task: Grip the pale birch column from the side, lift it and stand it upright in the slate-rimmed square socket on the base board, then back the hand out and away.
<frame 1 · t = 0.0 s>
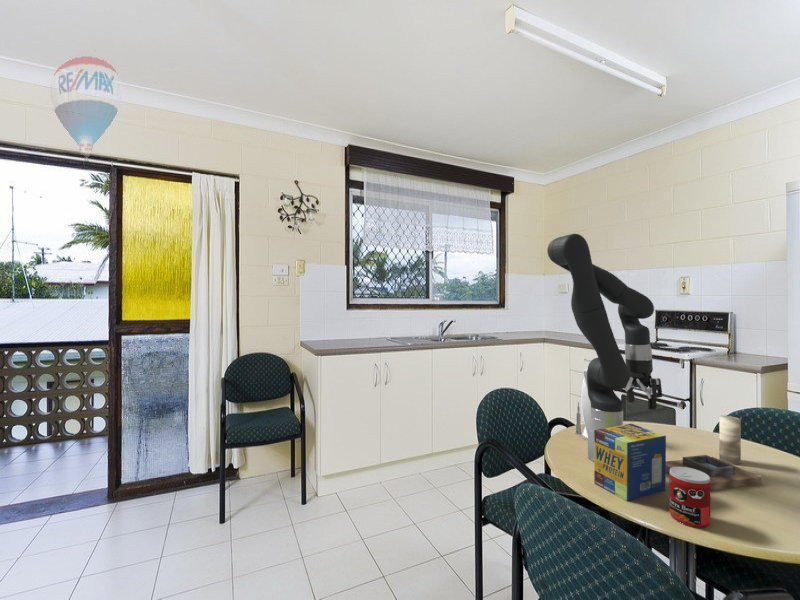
hand: (641, 405, 125), 17 cm above the table, tool pointing down, fingers open, 8 cm apart
skyscraper: (591, 437, 144), on the table
base board: (708, 475, 112), on the table
protein box: (629, 488, 106), on the table
birch column: (729, 461, 122), on the table
canned food: (689, 519, 90), on the table
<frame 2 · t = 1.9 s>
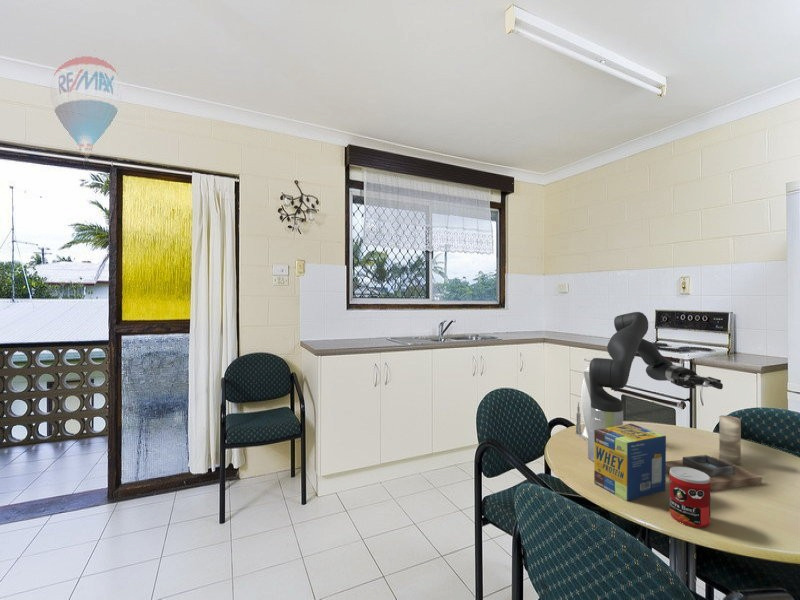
hand: (707, 386, 133), 22 cm above the table, tool horizontal, fingers open, 8 cm apart
nothing on the table moved.
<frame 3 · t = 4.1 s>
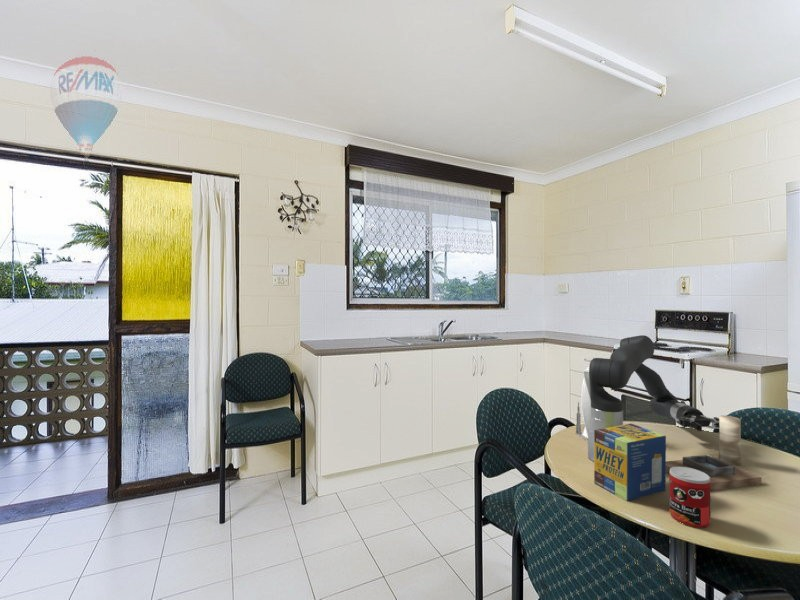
hand: (714, 429, 129), 8 cm above the table, tool horizontal, fingers open, 8 cm apart
nothing on the table moved.
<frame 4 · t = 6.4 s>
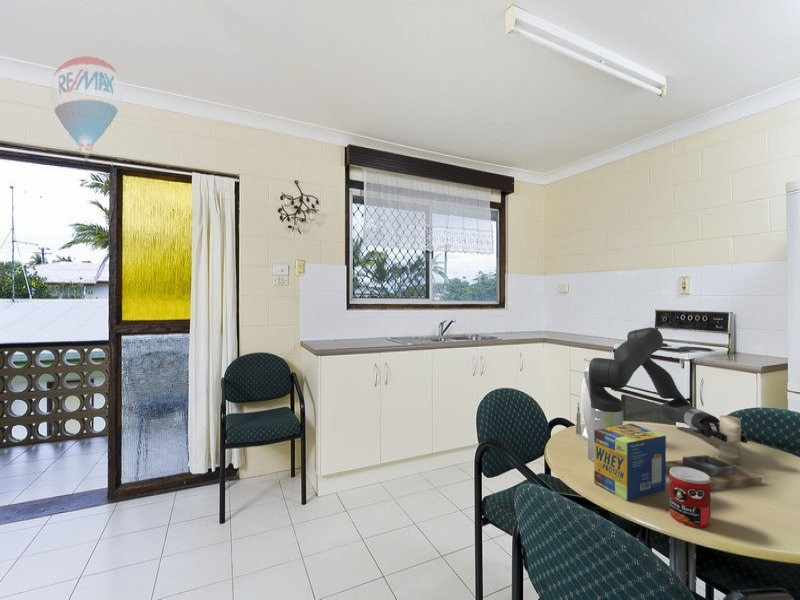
hand: (735, 439, 120), 8 cm above the table, tool horizontal, fingers closed on birch column, 5 cm apart
birch column: (730, 461, 122), on the table, touching gripper
everything else where it was.
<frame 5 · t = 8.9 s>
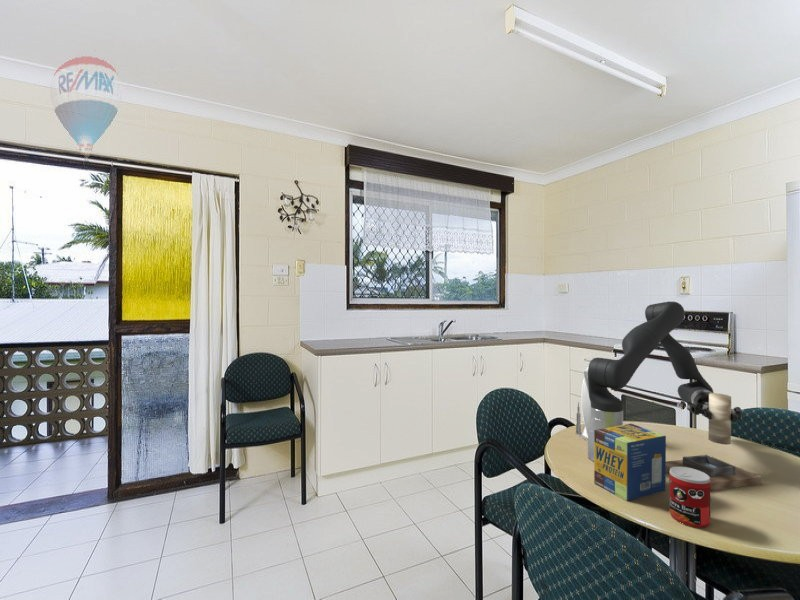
hand: (722, 417, 113), 17 cm above the table, tool horizontal, fingers closed on birch column, 5 cm apart
birch column: (719, 441, 115), point 9 cm above the table, touching gripper
everything else where it was.
when the fingers open (11 cm above the table, at t = 11.5 s): birch column stays where it is, resting on base board.
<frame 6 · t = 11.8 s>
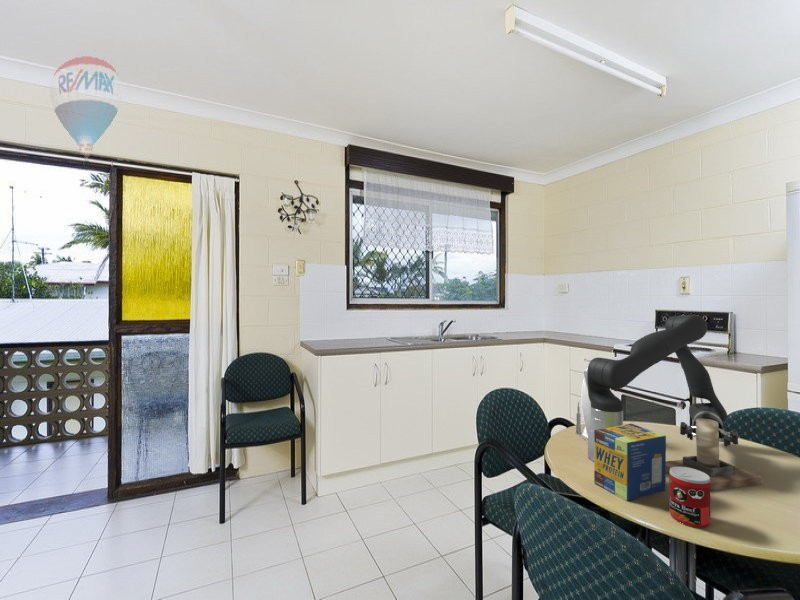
hand: (708, 439, 110), 11 cm above the table, tool horizontal, fingers open, 7 cm apart
birch column: (708, 468, 112), point 2 cm above the table, touching base board
everything else where it was.
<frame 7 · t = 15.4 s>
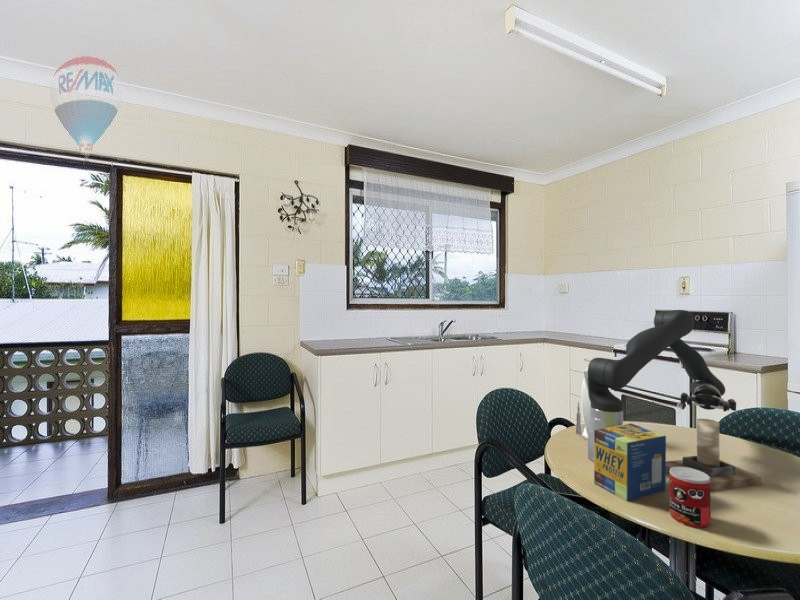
hand: (707, 405, 121), 18 cm above the table, tool horizontal, fingers open, 8 cm apart
nothing on the table moved.
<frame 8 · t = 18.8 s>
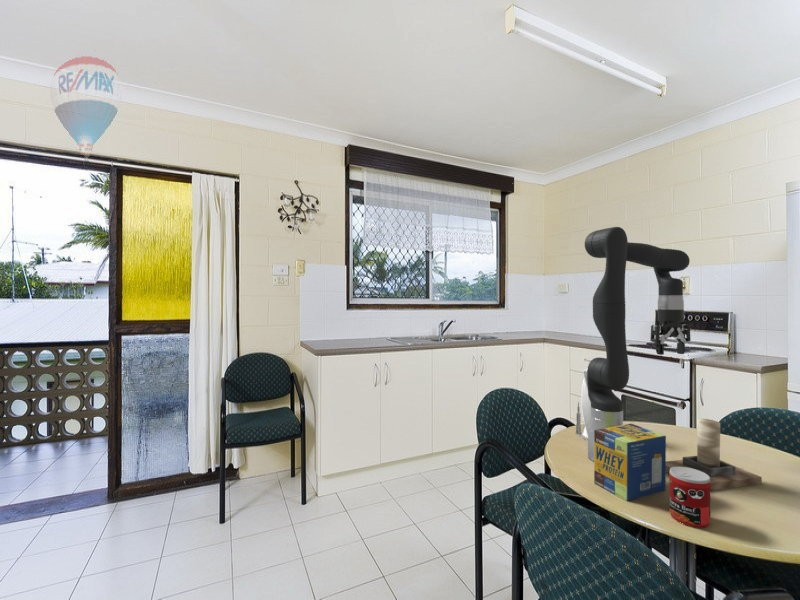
hand: (670, 354, 133), 33 cm above the table, tool pointing down, fingers open, 8 cm apart
nothing on the table moved.
at the end: birch column 0.0 cm off-centre on the base board, point 2.3 cm above the base board's base; birch column tilted 1°; the gripper is holding nothing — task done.
